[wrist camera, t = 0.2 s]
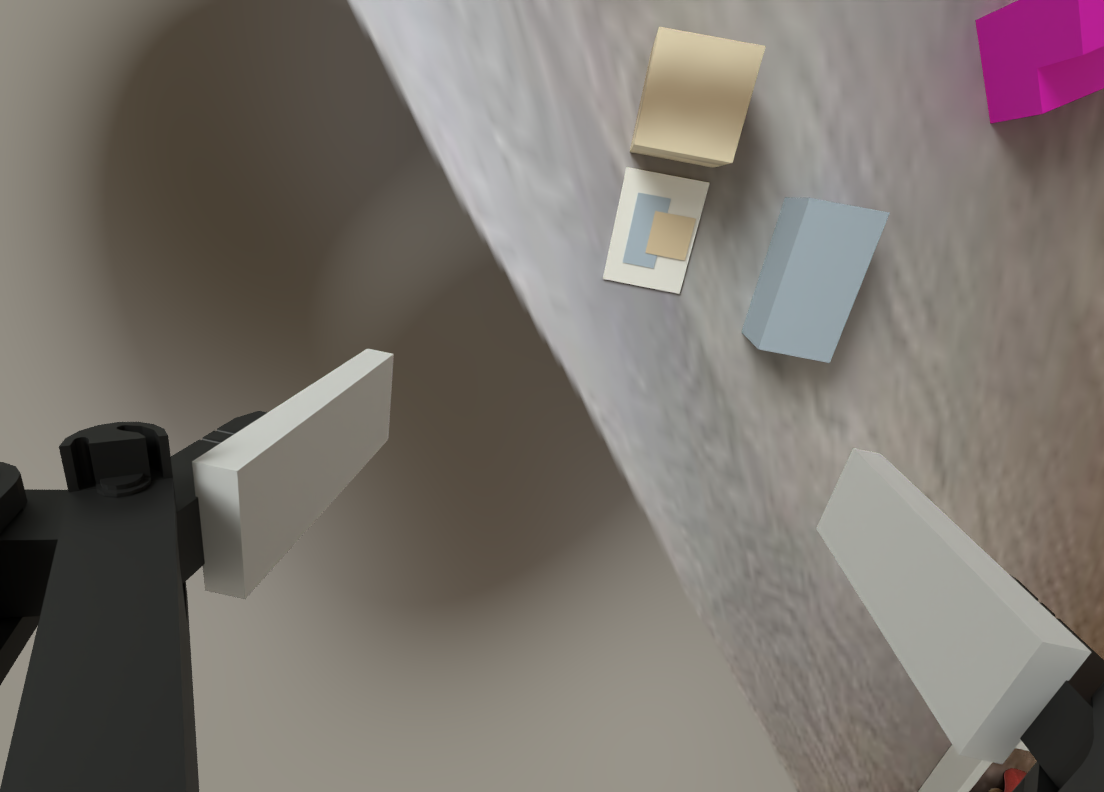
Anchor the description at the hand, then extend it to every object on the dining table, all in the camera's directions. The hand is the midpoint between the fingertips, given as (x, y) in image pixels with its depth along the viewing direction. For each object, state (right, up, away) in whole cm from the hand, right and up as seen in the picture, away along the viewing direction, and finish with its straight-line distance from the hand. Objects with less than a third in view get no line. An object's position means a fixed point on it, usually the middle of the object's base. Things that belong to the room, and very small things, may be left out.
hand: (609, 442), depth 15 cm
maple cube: (+7, +21, +21) cm, 30 cm away
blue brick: (+17, +10, +24) cm, 31 cm away
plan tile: (+6, +13, +23) cm, 28 cm away
